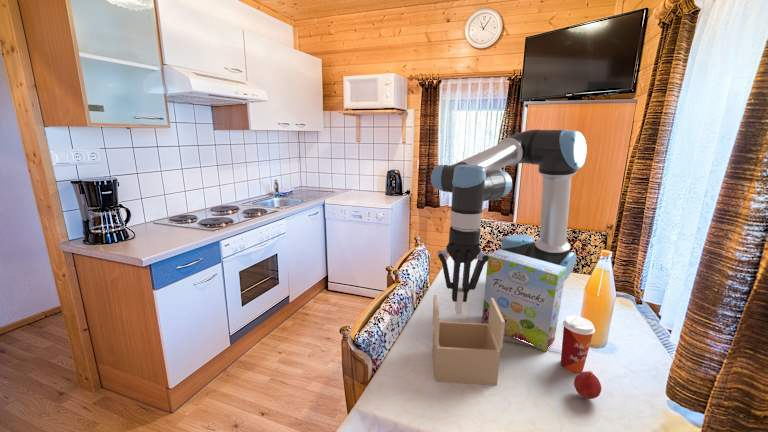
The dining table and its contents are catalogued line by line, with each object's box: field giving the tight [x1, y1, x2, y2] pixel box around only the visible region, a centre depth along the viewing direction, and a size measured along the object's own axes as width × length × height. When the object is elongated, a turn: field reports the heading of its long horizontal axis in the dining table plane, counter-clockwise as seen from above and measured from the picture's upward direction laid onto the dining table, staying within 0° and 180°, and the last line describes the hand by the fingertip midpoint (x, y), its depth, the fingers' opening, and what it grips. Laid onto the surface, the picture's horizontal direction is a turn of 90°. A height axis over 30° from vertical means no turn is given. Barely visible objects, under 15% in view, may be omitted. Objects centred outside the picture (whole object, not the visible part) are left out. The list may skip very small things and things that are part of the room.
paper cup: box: [560, 315, 596, 374], centre depth 96 cm, size 8×8×14 cm
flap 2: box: [488, 298, 505, 350], centre depth 93 cm, size 8×12×1 cm
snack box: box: [481, 248, 567, 353], centre depth 110 cm, size 22×9×26 cm, turn 47°
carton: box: [431, 320, 501, 386], centre depth 96 cm, size 16×13×10 cm
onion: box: [573, 370, 602, 400], centre depth 86 cm, size 6×6×8 cm
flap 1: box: [432, 294, 441, 345], centre depth 94 cm, size 8×12×1 cm
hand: (458, 311), depth 93 cm, fingers closed
